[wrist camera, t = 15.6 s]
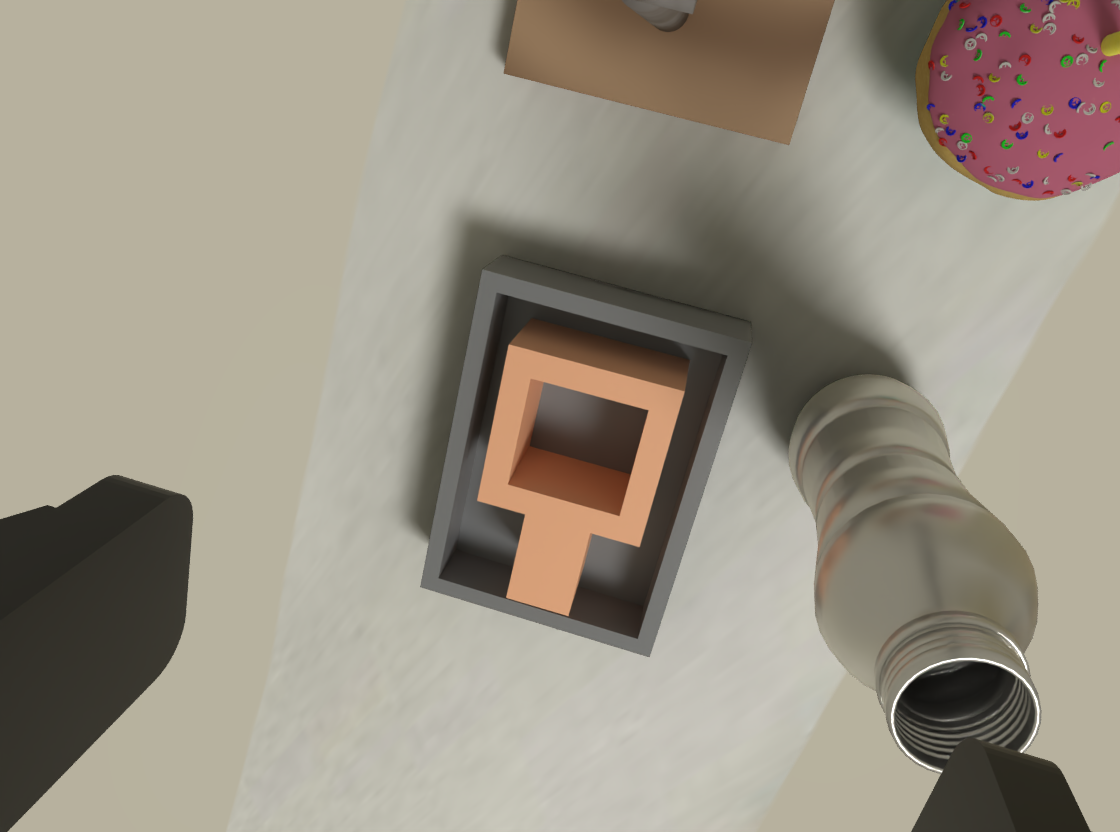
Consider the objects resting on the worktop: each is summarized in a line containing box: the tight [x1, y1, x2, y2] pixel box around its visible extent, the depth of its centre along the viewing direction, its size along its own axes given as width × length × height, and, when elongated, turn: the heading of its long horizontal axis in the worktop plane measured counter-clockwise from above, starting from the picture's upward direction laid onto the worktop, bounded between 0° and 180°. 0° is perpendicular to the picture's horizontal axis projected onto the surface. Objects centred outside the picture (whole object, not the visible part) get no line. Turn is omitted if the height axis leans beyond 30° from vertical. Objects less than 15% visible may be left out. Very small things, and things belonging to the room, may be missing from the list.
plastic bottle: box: [788, 374, 1041, 774], centre depth 31 cm, size 6×7×20 cm
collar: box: [477, 318, 690, 616], centre depth 41 cm, size 12×8×4 cm, turn 168°
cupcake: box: [915, 0, 1120, 200], centre depth 29 cm, size 9×8×12 cm
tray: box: [420, 255, 752, 657], centre depth 42 cm, size 16×12×4 cm
